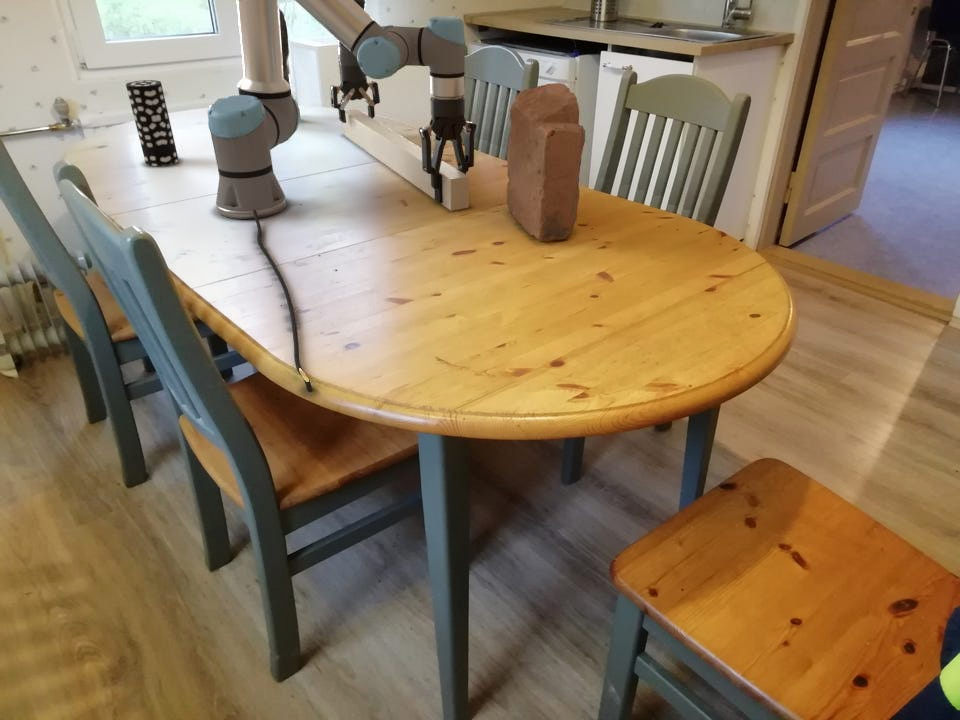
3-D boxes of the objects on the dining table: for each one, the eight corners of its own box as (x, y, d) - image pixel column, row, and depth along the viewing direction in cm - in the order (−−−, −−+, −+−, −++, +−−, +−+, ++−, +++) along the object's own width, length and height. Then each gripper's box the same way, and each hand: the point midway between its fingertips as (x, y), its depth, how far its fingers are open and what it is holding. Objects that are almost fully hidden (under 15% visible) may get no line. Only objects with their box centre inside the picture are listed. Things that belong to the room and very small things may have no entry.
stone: (590, 238, 144) (602, 97, 129) (540, 245, 141) (546, 100, 126) (549, 207, 161) (555, 80, 147) (504, 213, 158) (506, 82, 144)
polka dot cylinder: (184, 157, 190) (167, 80, 179) (169, 166, 183) (151, 87, 172) (155, 156, 190) (136, 79, 179) (139, 165, 183) (119, 86, 172)
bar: (468, 207, 160) (468, 176, 156) (450, 210, 158) (450, 179, 154) (358, 133, 213) (356, 109, 209) (344, 135, 211) (341, 110, 207)
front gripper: (475, 89, 157) (474, 189, 169) (403, 96, 149) (408, 200, 162) (491, 95, 151) (489, 198, 164) (417, 103, 144) (421, 210, 156)
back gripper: (370, 58, 202) (375, 115, 211) (323, 62, 196) (330, 121, 205) (380, 62, 196) (384, 120, 205) (332, 66, 191) (338, 126, 199)
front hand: (449, 199), depth 163 cm, fingers closed on bar, 5 cm apart
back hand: (357, 120), depth 205 cm, fingers open, 8 cm apart
